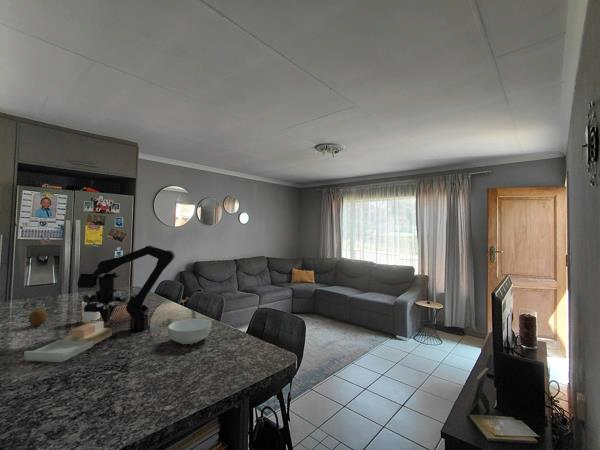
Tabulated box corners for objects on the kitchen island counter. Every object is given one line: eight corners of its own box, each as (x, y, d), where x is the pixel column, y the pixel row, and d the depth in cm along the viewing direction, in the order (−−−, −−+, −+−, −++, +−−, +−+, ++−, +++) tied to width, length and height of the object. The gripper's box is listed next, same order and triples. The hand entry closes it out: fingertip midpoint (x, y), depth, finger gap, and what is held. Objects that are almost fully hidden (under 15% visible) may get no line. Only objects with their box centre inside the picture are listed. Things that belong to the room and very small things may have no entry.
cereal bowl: (219, 337, 124) (219, 321, 125) (189, 352, 109) (190, 333, 109) (190, 331, 132) (190, 315, 132) (158, 344, 116) (158, 326, 117)
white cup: (90, 324, 139) (91, 303, 139) (77, 323, 140) (77, 302, 140) (104, 319, 146) (105, 299, 146) (91, 318, 148) (92, 298, 148)
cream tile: (103, 328, 125) (103, 321, 125) (94, 332, 120) (94, 325, 120) (92, 328, 125) (92, 321, 125) (83, 332, 120) (83, 324, 120)
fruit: (25, 327, 134) (26, 309, 134) (41, 323, 139) (42, 306, 140) (33, 329, 131) (34, 311, 131) (49, 324, 137) (50, 308, 137)
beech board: (111, 335, 125) (112, 328, 125) (91, 345, 114) (91, 338, 114) (85, 334, 126) (85, 327, 126) (62, 344, 115) (62, 337, 115)
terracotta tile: (93, 332, 120) (93, 325, 120) (83, 337, 115) (84, 329, 115) (82, 332, 120) (82, 325, 120) (71, 336, 115) (72, 329, 115)
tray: (93, 346, 114) (93, 338, 114) (61, 362, 100) (62, 353, 100) (59, 344, 115) (60, 336, 115) (24, 360, 101) (24, 351, 101)
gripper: (104, 283, 140) (104, 315, 139) (72, 291, 121) (71, 328, 121) (126, 284, 139) (126, 316, 139) (97, 292, 120) (96, 329, 120)
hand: (105, 322), depth 130 cm, fingers closed
